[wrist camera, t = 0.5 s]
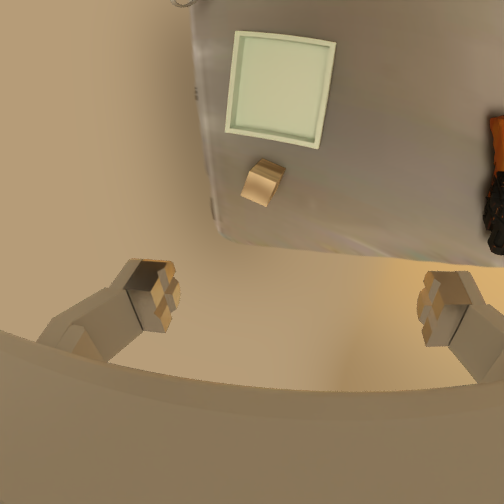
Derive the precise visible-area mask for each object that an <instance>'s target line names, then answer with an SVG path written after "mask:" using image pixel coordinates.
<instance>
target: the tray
mask: <svg viewBox="0 0 504 504" xmlns="http://www.w3.org/2000/svg"><path fill="white" fill-rule="evenodd" d="M335 52H336V43H335V42H330V41H324V40H318V39H312V38H306V37H299V36H291V35H283V34H273V33H262V32H249V31H235V38H234V47H233V56H232V65H231V74H230V84H229V94H228V104H227V114H226V125H225V132H227V133H234V134H240V135H246V136H253V137H258V138H264V139H270V140H275V141H281V142H286V143H291V144H296V145H301V146H306V147H310V148H315V149H319V146H320V142H321V137H322V131H323V126H324V120H325V114H326V109H327V103H328V97H329V91H330V84H331V78H332V72H333V65H334V59H335Z"/></svg>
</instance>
